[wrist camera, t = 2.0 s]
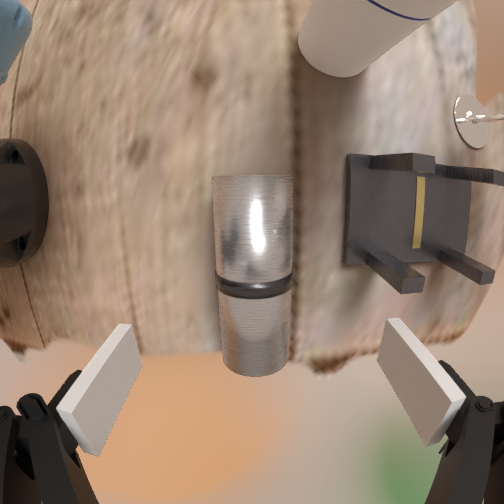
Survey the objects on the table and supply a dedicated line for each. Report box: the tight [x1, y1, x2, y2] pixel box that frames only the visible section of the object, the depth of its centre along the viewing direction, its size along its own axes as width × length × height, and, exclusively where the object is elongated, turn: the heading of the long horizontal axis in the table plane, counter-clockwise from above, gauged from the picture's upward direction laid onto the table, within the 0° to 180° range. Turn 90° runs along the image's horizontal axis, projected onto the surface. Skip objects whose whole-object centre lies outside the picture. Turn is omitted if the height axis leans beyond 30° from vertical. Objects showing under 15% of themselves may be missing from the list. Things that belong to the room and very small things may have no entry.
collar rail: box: [344, 153, 504, 294], centre depth 21 cm, size 15×10×8 cm, turn 91°
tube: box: [212, 174, 293, 377], centre depth 23 cm, size 16×6×6 cm, turn 1°
